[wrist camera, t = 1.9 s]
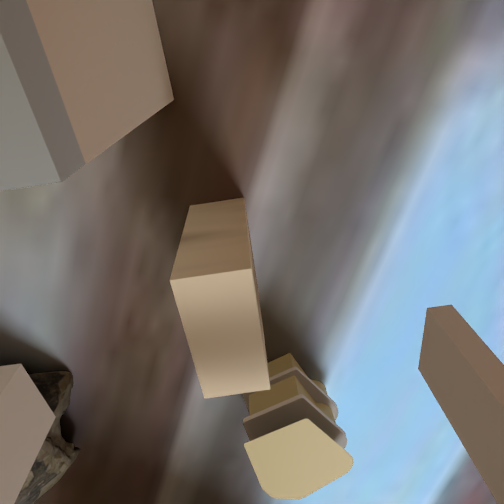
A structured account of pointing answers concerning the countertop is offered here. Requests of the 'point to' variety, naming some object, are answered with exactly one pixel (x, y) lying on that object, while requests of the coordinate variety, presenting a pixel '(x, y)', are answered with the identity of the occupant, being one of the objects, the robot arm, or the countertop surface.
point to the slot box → (74, 83)
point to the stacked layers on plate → (294, 433)
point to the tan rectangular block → (220, 299)
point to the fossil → (50, 438)
